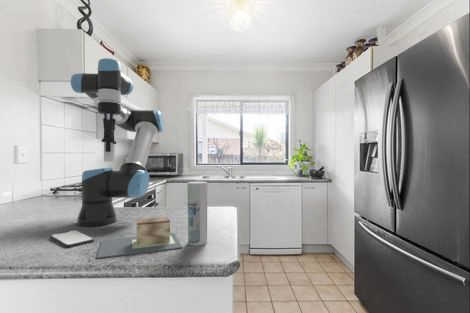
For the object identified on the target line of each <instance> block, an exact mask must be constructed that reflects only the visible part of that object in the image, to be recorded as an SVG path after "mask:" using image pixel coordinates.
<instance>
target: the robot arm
mask: <svg viewBox="0 0 470 313" xmlns="http://www.w3.org/2000/svg"><path fill="white" fill-rule="evenodd" d="M121 70H122V68H121V62H119V61H118V60H117V59H114V58H108V57H107V58H106V57H105V58H101V59H98V62H97V73H84V72H82V73H74V74H72V75H71V78H70V86H71V88H72V90H73V91H74V92H75V93H80V94H85V95H86V96H87V97H88V98H90V99H91V101H93V102H94V104H96V106H97V112H98V113H99V114H101V115H103V116H104V117H103V118H102V123H103V138H102V139H101V143H103V162H104V163H107V162H110V163H111V162H115V145H117V141H115V130H116V126H117V127H118V128H121V129H122V130H125V131H127V132H131V133H135V136H134V139H133V141H132V144H131V147H130V150H129V153H128V156H127V158H126V161H125V162H123V163H122V164H121V165H120V168H119V170H113V167H111V166H110V167H104V168H103V167H102V168H101V167H100V168H95V169H88V170H87V169H86V170H84V171H83V172H82V175H81V207H80V210H79V213H78V216H77V219H76V220H77V226H81V227H98V226H105V225H110V224H113V223H115V222H116V221H117V219H118V218H117V214H116V211H115V207H114V205H113V198H114V199H116V198H117V199H120V198H121V199H135V198H143V197H144V196H146V193H147V192H148V190H149V187H150V186H149V185H150V174H149V172H148V170H147V168H146V164H147V163H148V162H147V161H148V159H149V155H150V151H151V148H152V144H153V142H154V141H153V140H154V138H156V137H157V136H158V134H159V133H161V132H163V131H164V119H163V116H162V113H161V111H160V110H154V109H152V110H151V109H150V110H148V109H147V110H144V109H138V110H137V109H136V110H135V109H127V108H126V107H125V106H122V105H121V102H122V96H127V95H130V94H131V93H132V92H133V90H134V82H133V81H132V80H131V79H130V78H129V77H128V76H127V75H126V74H124V73H122V71H121Z"/></svg>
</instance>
